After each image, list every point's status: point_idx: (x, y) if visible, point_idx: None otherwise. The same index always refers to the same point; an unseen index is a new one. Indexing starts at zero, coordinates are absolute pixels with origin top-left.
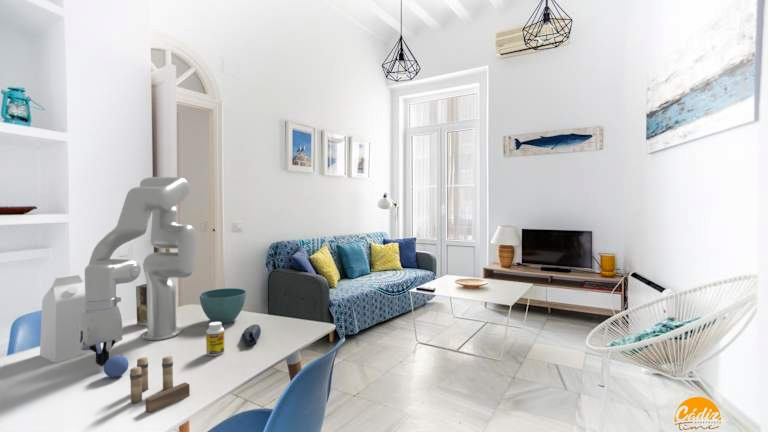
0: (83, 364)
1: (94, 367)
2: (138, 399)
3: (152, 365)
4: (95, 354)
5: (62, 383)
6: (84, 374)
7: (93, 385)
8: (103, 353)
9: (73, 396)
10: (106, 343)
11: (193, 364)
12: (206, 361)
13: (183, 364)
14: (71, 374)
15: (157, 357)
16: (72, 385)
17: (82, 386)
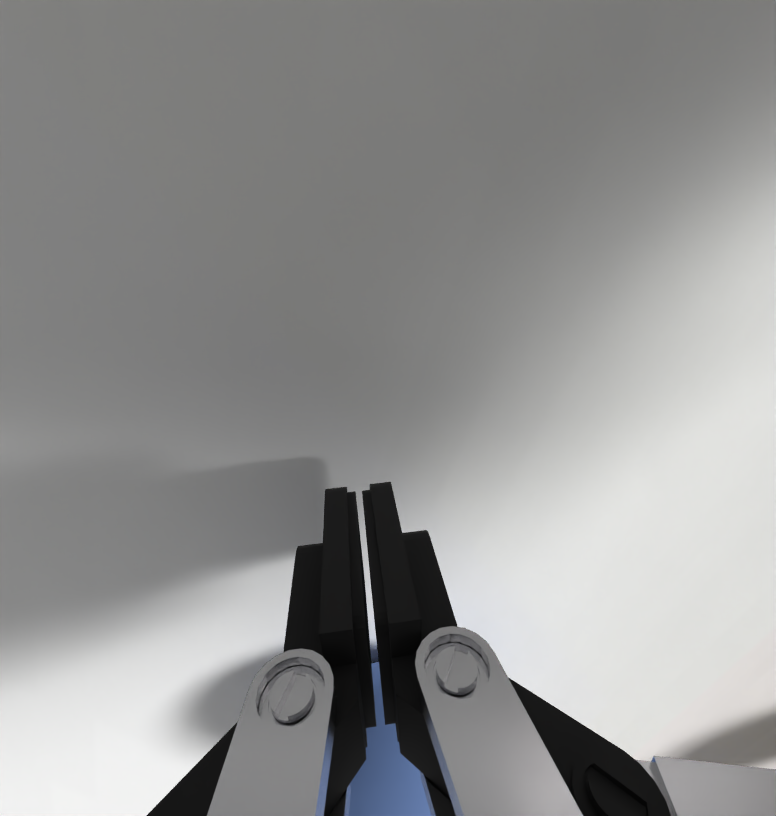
0: (238, 119)
1: (319, 372)
2: None
3: (612, 653)
4: (285, 638)
5: (7, 556)
6: (201, 489)
7: (227, 712)
8: (366, 733)
9: (101, 774)
10: (507, 785)
11: (709, 754)
12: (761, 756)
13: (692, 732)
14: (80, 390)
15: (738, 549)
16: (94, 639)
17: (161, 690)
